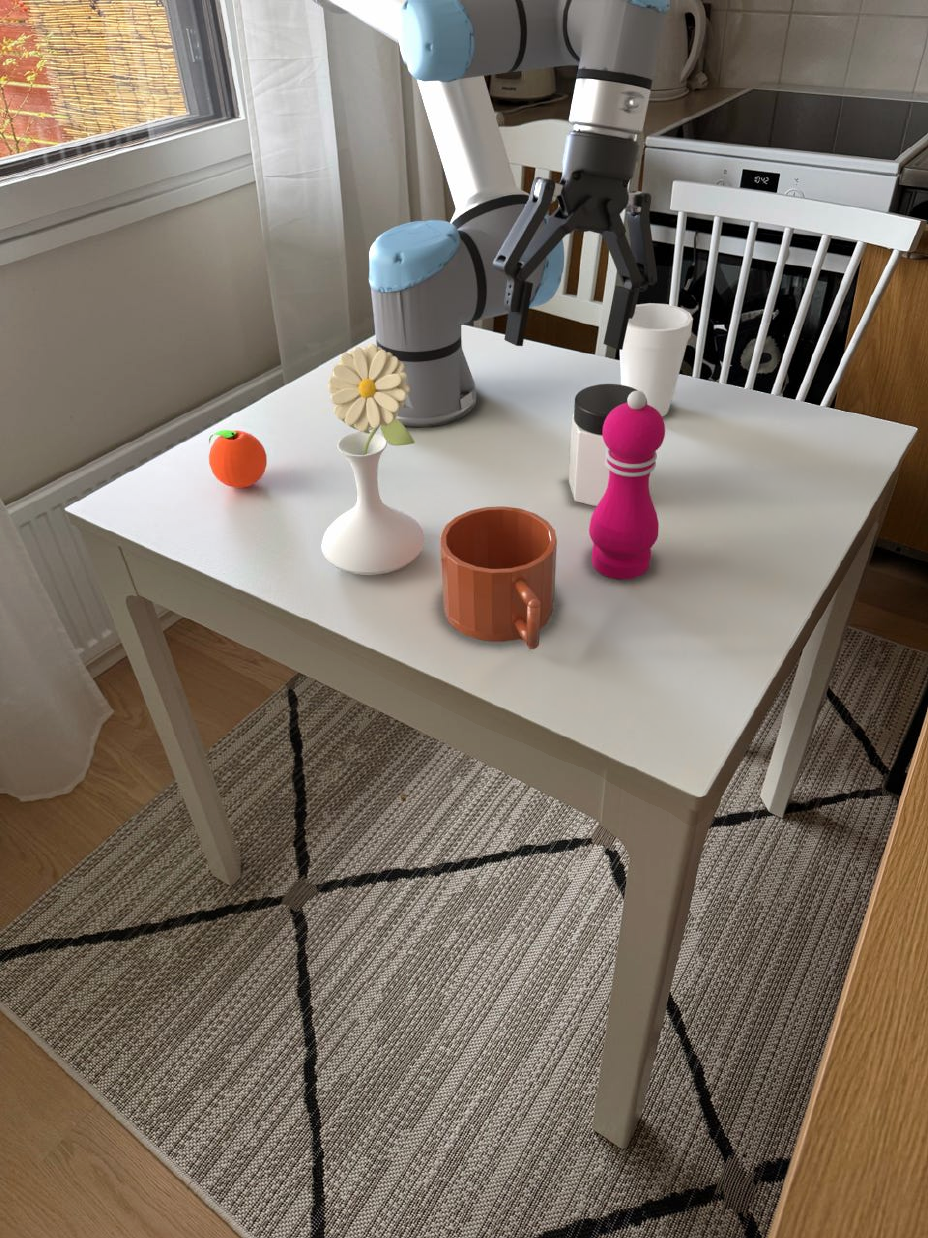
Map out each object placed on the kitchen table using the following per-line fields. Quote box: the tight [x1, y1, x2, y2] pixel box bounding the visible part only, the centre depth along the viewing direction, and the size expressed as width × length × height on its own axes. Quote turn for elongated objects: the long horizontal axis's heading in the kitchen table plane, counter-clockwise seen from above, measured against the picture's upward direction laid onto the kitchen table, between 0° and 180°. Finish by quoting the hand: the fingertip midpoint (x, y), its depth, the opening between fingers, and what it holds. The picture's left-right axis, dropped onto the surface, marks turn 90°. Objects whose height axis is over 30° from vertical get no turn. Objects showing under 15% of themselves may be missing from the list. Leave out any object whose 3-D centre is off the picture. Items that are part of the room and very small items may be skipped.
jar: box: [568, 383, 647, 507], centre depth 106 cm, size 9×8×12 cm
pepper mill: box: [588, 391, 666, 580], centre depth 92 cm, size 7×7×20 cm
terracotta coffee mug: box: [439, 505, 558, 650], centre depth 89 cm, size 15×11×8 cm
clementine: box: [208, 429, 268, 489], centre depth 111 cm, size 8×7×7 cm
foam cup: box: [619, 302, 694, 417], centre depth 121 cm, size 10×9×13 cm
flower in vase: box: [321, 343, 426, 576], centre depth 92 cm, size 13×11×25 cm
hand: (564, 345), depth 102 cm, fingers open, 13 cm apart
